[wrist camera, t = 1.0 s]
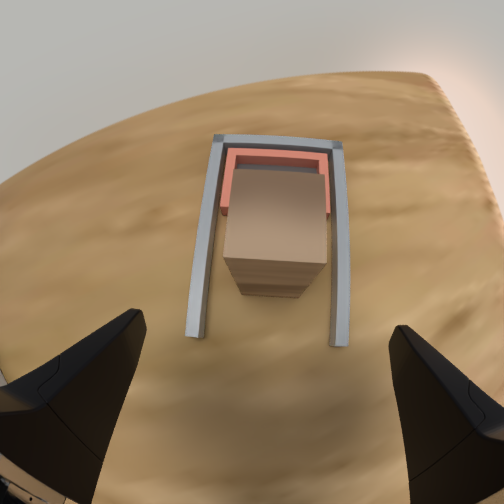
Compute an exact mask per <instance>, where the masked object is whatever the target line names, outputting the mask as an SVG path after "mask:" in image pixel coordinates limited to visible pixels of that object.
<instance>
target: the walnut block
mask: <svg viewBox="0 0 504 504" xmlns="http://www.w3.org/2000/svg"><path fill="white" fill-rule="evenodd" d="M223 258H224V260H225V262H226V264H227V266H228V268H229V270H230V272H231V274H232V276H233V278H234V280H235V282H236V284H237V286H238V288H239V290H240V292H241V294H242V295H255V296H271V297H288V298H298V297H299V296H300V295H301V294H302V293H303V292H304V290H305V289H306V288H307V287H308V286H309V284H310V283H311V282H312V281H313V280H314V278H315V277H316V276H317V275H318V273H319V272H320V271H321V270H322V269H323V267H324V266H325V265H326V264H327V226H326V190H325V174H314V173H302V172H288V171H272V170H251V169H233V176H232V184H231V192H230V200H229V208H228V217H227V226H226V234H225V243H224V252H223Z"/></svg>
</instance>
